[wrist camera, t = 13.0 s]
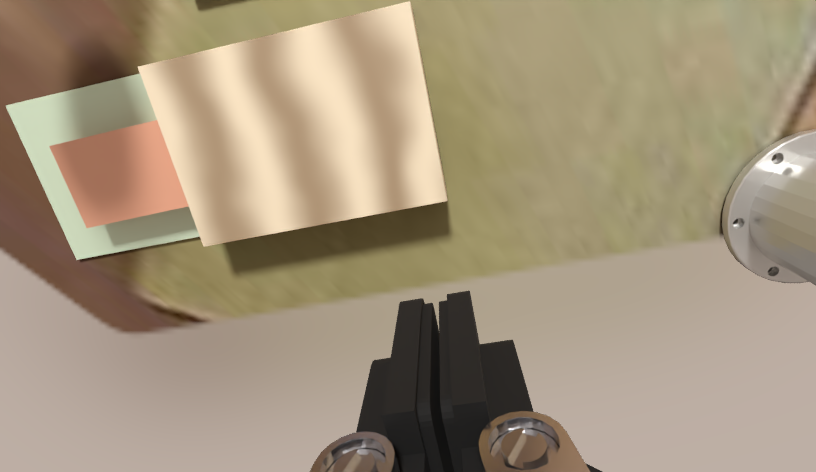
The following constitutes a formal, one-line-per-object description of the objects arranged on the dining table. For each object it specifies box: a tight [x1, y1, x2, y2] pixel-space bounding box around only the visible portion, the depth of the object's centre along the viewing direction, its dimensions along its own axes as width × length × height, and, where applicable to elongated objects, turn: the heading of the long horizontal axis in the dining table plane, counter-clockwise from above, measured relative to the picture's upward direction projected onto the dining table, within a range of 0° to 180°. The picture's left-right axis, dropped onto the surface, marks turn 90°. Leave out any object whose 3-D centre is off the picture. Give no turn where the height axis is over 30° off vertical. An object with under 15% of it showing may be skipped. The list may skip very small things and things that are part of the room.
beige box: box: [138, 1, 447, 246], centre depth 37 cm, size 20×14×4 cm
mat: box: [6, 74, 200, 260], centre depth 41 cm, size 14×14×1 cm
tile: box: [49, 120, 188, 228], centre depth 39 cm, size 10×7×2 cm
